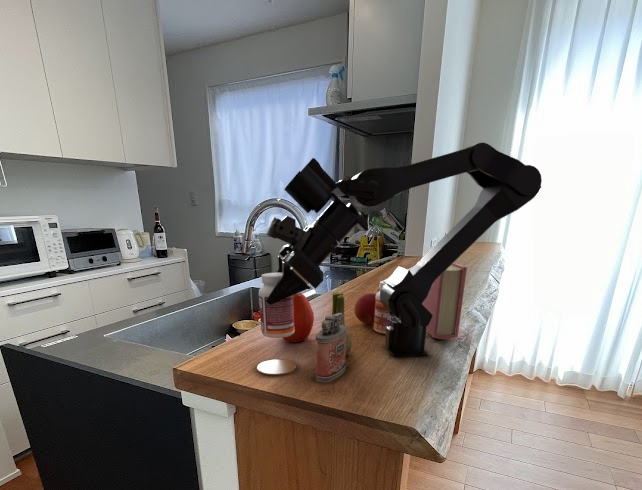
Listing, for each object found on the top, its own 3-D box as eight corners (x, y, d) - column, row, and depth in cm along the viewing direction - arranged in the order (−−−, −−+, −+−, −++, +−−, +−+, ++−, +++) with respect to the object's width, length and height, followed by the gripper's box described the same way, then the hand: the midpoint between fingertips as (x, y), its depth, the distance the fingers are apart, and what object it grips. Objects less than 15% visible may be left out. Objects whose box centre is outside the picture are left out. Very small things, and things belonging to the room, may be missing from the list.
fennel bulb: (330, 348, 77) (330, 289, 73) (354, 350, 75) (356, 290, 71) (321, 358, 72) (322, 294, 68) (347, 360, 70) (349, 296, 66)
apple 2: (387, 299, 86) (378, 281, 92) (353, 313, 88) (347, 294, 94) (395, 323, 91) (386, 304, 97) (363, 335, 93) (356, 316, 99)
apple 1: (305, 332, 88) (305, 285, 84) (320, 342, 80) (320, 291, 77) (271, 336, 85) (269, 288, 82) (283, 347, 78) (282, 295, 74)
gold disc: (295, 360, 71) (295, 359, 70) (296, 374, 64) (295, 373, 64) (258, 361, 71) (258, 360, 70) (255, 376, 64) (255, 374, 64)
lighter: (329, 384, 60) (330, 323, 57) (311, 379, 62) (310, 320, 59) (350, 367, 67) (352, 312, 63) (333, 364, 69) (334, 309, 65)
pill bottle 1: (301, 332, 71) (299, 273, 67) (279, 341, 67) (275, 278, 63) (277, 327, 75) (274, 270, 71) (254, 335, 71) (250, 275, 67)
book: (432, 341, 79) (457, 341, 79) (440, 267, 74) (467, 267, 74) (415, 323, 93) (436, 323, 93) (421, 259, 88) (443, 259, 88)
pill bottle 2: (369, 332, 86) (371, 283, 82) (379, 325, 91) (382, 279, 87) (395, 336, 83) (399, 285, 79) (405, 329, 87) (409, 281, 84)
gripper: (287, 200, 72) (234, 262, 75) (300, 195, 55) (230, 276, 57) (328, 242, 76) (275, 299, 78) (353, 249, 58) (284, 323, 61)
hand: (267, 299), depth 69 cm, fingers closed on pill bottle 1, 6 cm apart
